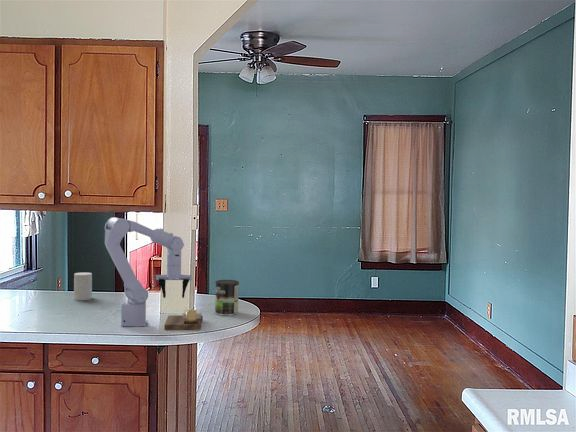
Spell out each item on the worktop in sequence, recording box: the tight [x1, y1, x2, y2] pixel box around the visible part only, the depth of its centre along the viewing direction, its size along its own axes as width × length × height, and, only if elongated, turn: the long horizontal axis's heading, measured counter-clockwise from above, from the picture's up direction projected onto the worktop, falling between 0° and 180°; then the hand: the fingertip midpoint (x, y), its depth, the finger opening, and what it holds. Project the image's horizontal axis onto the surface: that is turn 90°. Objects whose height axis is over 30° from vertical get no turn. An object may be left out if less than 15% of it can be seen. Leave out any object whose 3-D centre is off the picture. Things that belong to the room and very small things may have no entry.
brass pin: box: [186, 309, 196, 324], centre depth 244 cm, size 4×4×6 cm
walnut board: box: [163, 314, 203, 331], centre depth 248 cm, size 14×16×2 cm
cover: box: [182, 309, 202, 319], centre depth 253 cm, size 7×7×2 cm
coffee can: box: [214, 279, 240, 317], centre depth 270 cm, size 10×10×14 cm
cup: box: [73, 272, 93, 301], centre depth 295 cm, size 8×8×12 cm
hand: (173, 297), depth 256 cm, fingers open, 7 cm apart
